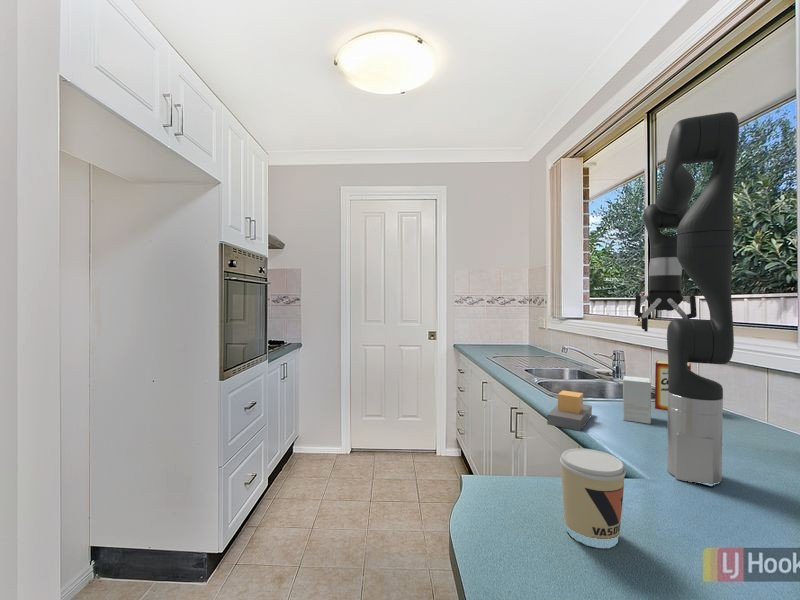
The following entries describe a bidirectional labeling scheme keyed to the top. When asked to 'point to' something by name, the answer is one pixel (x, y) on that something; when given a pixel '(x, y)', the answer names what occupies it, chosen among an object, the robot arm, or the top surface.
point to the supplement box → (637, 399)
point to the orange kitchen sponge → (570, 402)
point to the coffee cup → (592, 492)
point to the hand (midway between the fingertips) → (664, 332)
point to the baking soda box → (662, 384)
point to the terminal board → (569, 418)
